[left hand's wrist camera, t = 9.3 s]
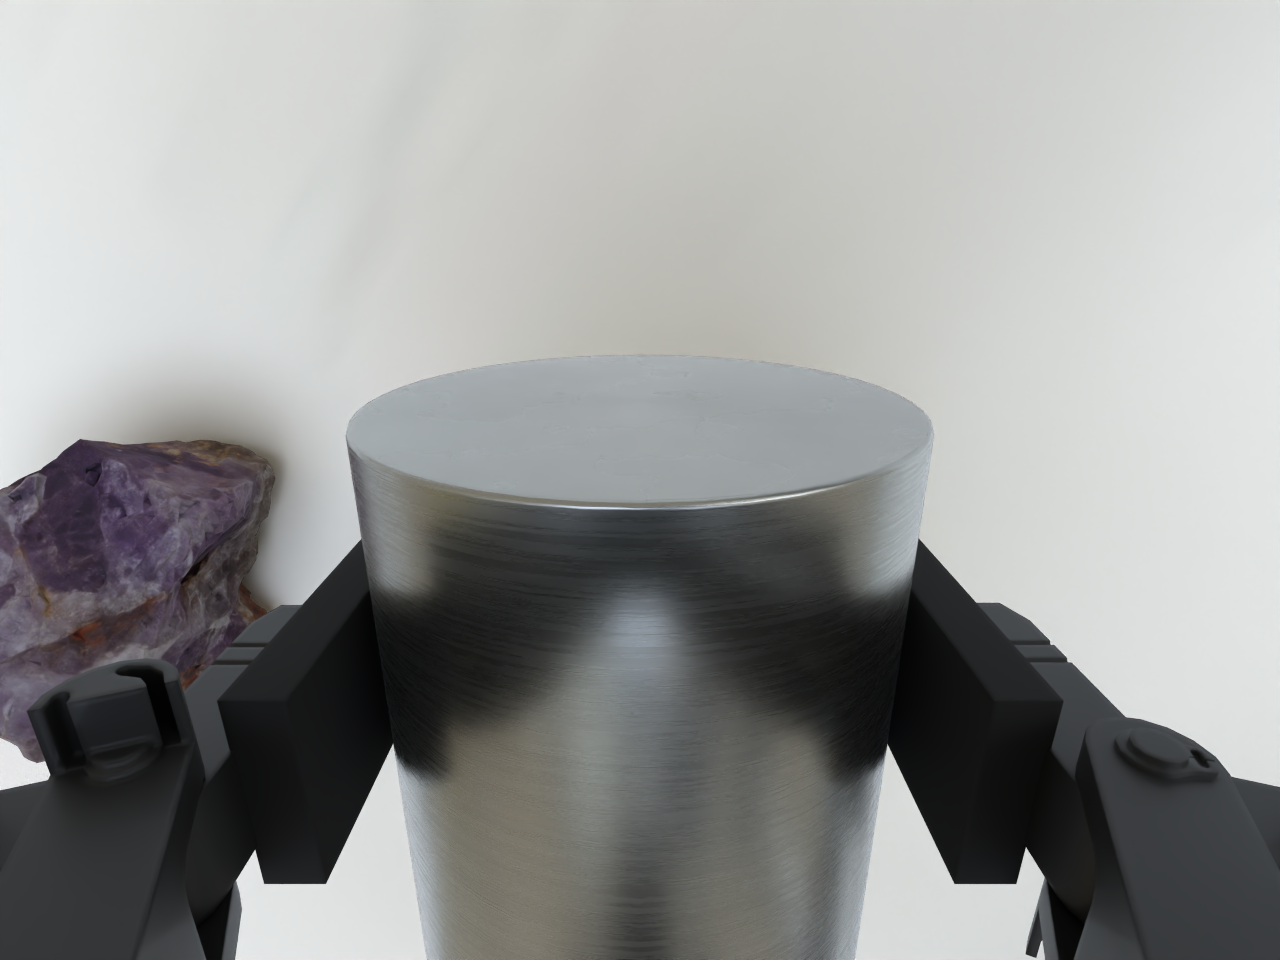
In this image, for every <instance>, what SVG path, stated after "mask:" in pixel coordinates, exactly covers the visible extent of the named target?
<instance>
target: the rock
mask: <svg viewBox="0 0 1280 960" xmlns="http://www.w3.org/2000/svg"><path fill="white" fill-rule="evenodd" d="M274 481H275V476H274V473H273V470H272V468H271V467H270V465H269V464H268V462H267V460H266V459H263V458H261V457H259V456H257V455H256V454H254V453H253V452H252V451H250V450H248V449H246V448H243V447H241V446H237V445H230V444H223V443H220V442H217V441H209V440H198V441H192V442H181V441H170V442H159V443H144V444H130V445H121V444H115V443H109V442H101V441H89V440H82V439H80V440H78V441H77V442H75V443H74V444H73V445H71V446H70V447H69V448H67V449H66V450H64V451H63V452H62V453H61V454H60V455H59V456H58V458H57V459H55V460H53V461H52V462H50V463H49V464H47V465H46V466H44V467H43V468H42V469H41V470H39V471H37V472H34V473H32V474H29V475H27V476H25V477H23V478H21V479H19V480H17V481H16V482H14V483H13V484H11V485H10V486H8V487H6V488H3V489H1V490H0V738H2V739H4V740H7V741H9V742H11V743H13V744H14V745H16V746H18V747H19V749H20V751H21V753H22V754H23V756H24V757H25V758H27V759H28V760H31V761H33V762H36V763H39V762H43V761H45V759H44V756H43V753H42V751H41V748H40V745H39V743H38V740H37V738H36V735H35V732H34V730H33V727H32V724H31V722H30V719H29V716H28V714H27V710H28V709H29V708H30V707H31V706H32V705H33V704H34V703H35V702H36V701H37V700H38V699H39V698H40V697H41V696H42V695H43V694H45V693H46V692H48V691H49V690H51V689H53V688H54V687H56V686H57V685H59V684H60V683H62V682H64V681H65V680H67V679H70V678H72V677H74V676H77V675H79V674H81V673H84V672H86V671H88V670H91V669H93V668H97V667H100V666H104V665H108V664H112V663H115V662H119V661H124V660H134V659H143V658H149V659H157V660H164V661H167V662H169V663H170V664H171V665H173V666H174V667H176V668H177V670H178V674H179V678H180V681H181V685H182V688H183V692H184V691H185V690H186V689H187V688H188V687H189V686H190V685H191V684H192V683H193V682H194V681H195V680H196V679H197V678H198V677H199V676H200V675H201V673H202V672H203V671H204V670H205V669H206V668H207V667H208V666H209V665H214V660H215V659H216V658H217V657H218V656H219V655H220V654H221V653H222V652H223V651H224V650H225V649H226V648H227V647H231V643H232V642H233V641H234V640H235V639H236V638H237V637H238V636H239V635H240V634H241V633H242V632H243V631H244V630H245V629H246V628H247V627H248V626H249V625H250V624H251V623H252V622H254V621H255V620H257V619H259V618H260V617H262V616H264V615H266V614H267V612H266V611H265V610H264V609H263V608H261V607H259V606H258V605H256V604H255V603H254V602H253V601H252V600H250V594H251V593H250V592H249V591H248V590H247V589H246V588H245V587H244V586H243V585H242V584H241V581H242V579H243V578H244V576H245V575H246V574H247V573H248V572H249V571H250V569H251V567H252V566H253V564H254V562H255V560H256V555H257V553H258V542H257V540H256V538H255V535H256V534H257V531H258V529H259V526H260V524H261V521H262V520H263V519H265V518H266V517H267V516H268V513H269V508H270V492H271V490H272V487H273V484H274Z"/></svg>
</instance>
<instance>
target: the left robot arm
mask: <svg viewBox="0 0 1280 960" xmlns="http://www.w3.org/2000/svg"><path fill="white" fill-rule="evenodd" d="M27 714H28V716H29V719H30V722H31V724H32V727H33V730H34V732H35V735H36V738H37V740H38V743H39V745H40V748H41V751H42V753H43V756H44V759H45V761H46V764H47V767H48V769H49V772H50V777H49V779H48V780H47V781H42V782H38V783H33V784H28V785H24V786H19V787H14V788H10V789H5V790H0V960H235V955H236V948H237V941H238V933H239V926H240V919H241V911H242V907H241V900H240V893H239V890H238V886H237V882H236V879H237V878H238V876H239V875H240V873H241V871H242V870H243V868H244V866H245V865H246V863H247V862H248V860H249V858H250V857H251V855H252V854H253V852H254V850H256V854H257V858H258V861H259V865H260V869H261V873H262V877H263V881H264V884H326V883H327V880H328V878H329V876H330V874H331V872H332V870H333V868H334V866H335V864H336V862H337V860H338V857H339V855H340V853H341V851H342V849H343V847H344V845H345V843H346V841H347V839H348V837H349V834H350V832H351V830H352V828H353V826H354V824H355V822H356V820H357V818H358V816H359V814H360V811H361V809H362V807H363V805H364V803H365V801H366V799H367V797H368V795H369V793H370V791H371V788H372V786H373V784H374V782H375V780H376V778H377V776H378V774H379V772H380V770H381V768H382V765H383V763H384V761H385V759H386V757H387V755H388V753H389V751H390V749H391V747H392V745H393V737H392V731H391V724H390V718H389V712H388V705H387V699H386V692H385V686H384V679H383V673H382V666H381V660H380V653H379V647H378V641H377V634H376V628H375V621H374V615H373V608H372V602H371V595H370V589H369V583H368V576H367V570H366V563H365V557H364V550H363V544H362V539H361V540H360V541H359V542H358V543H357V544H356V546H355V547H354V548H353V549H352V550H351V551H350V552H349V553H348V555H347V556H346V557H345V558H344V559H343V560H342V561H341V562H340V563H339V565H338V566H337V567H336V568H335V569H334V570H333V571H332V572H331V574H330V575H329V576H328V577H327V578H326V579H325V580H324V581H323V582H322V584H321V585H320V586H319V587H318V588H317V589H316V590H315V591H314V593H313V594H312V595H311V596H310V597H309V598H308V599H307V600H306V601H305V603H304V604H303V605H281V606H279V607H278V608H276V609H274V610H272V611H271V612H269V613H267V614H266V615H264V616H262V617H260V618H259V619H257V620H255V621H254V622H252V623H251V624H250V625H249V626H248V627H247V628H246V629H245V630H244V631H243V632H242V633H241V634H240V635H239V636H238V637H237V638H236V639H235V640H234V641H233V642H232V643H231V647H227V648H226V649H225V650H224V651H223V652H222V653H221V654H220V655H219V656H218V657H217V658H216V659H215V660H214V665H209V666H208V667H207V668H206V669H205V670H204V671H203V672H202V673H201V675H200V676H199V677H198V678H197V679H196V680H195V681H194V682H193V683H192V684H191V685H190V686H189V687H188V688H187V689H186V690H185V691H184V692H183V688H182V685H181V681H180V678H179V674H178V670H177V668H176V667H174V666H173V665H171V664H170V663H169V662H167V661H164V660H157V659H149V658H143V659H134V660H124V661H119V662H115V663H112V664H108V665H104V666H100V667H97V668H93V669H91V670H88V671H86V672H84V673H81V674H79V675H77V676H74V677H72V678H70V679H67V680H65V681H64V682H62V683H60V684H59V685H57V686H56V687H54V688H53V689H51V690H49V691H48V692H46V693H45V694H43V695H42V696H41V697H40V698H39V699H38V700H37V701H36V702H35V703H34V704H33V705H32V706H31V707H30V708H29V709H28V710H27ZM887 744H888V746H889V748H890V750H891V752H892V754H893V756H894V758H895V760H896V762H897V764H898V767H899V769H900V771H901V773H902V775H903V777H904V779H905V781H906V783H907V785H908V787H909V790H910V792H911V794H912V796H913V798H914V800H915V802H916V804H917V806H918V808H919V810H920V813H921V815H922V817H923V819H924V821H925V823H926V825H927V827H928V829H929V831H930V833H931V836H932V838H933V840H934V842H935V844H936V846H937V848H938V850H939V852H940V854H941V856H942V859H943V861H944V863H945V865H946V867H947V869H948V871H949V873H950V875H951V877H952V879H953V882H954V884H1016V883H1017V879H1018V875H1019V871H1020V868H1021V864H1022V860H1023V856H1024V852H1025V848H1026V847H1027V849H1028V851H1029V852H1030V854H1031V855H1032V857H1033V859H1034V860H1035V862H1036V864H1037V865H1038V867H1039V868H1040V870H1041V872H1042V873H1043V875H1044V876H1045V879H1044V882H1043V886H1042V890H1041V893H1040V897H1039V900H1038V904H1037V908H1036V911H1035V915H1034V918H1033V922H1032V926H1031V929H1030V933H1029V936H1028V941H1027V948H1026V955H1029V956H1032V957H1035V958H1036V957H1037V953H1038V950H1039V946H1040V943H1041V941H1042V940H1043V946H1044V953H1045V960H1280V787H1276V786H1272V785H1267V784H1262V783H1258V782H1253V781H1248V780H1243V779H1239V778H1234V777H1231V776H1230V774H1229V773H1228V772H1227V770H1226V769H1225V768H1224V767H1223V765H1222V764H1221V763H1220V762H1219V760H1218V759H1217V758H1216V757H1215V756H1214V755H1212V754H1211V753H1210V752H1208V751H1207V750H1206V749H1204V748H1203V747H1202V746H1200V745H1199V744H1198V743H1196V742H1195V741H1193V740H1191V739H1189V738H1187V737H1185V736H1183V735H1181V734H1179V733H1177V732H1175V731H1173V730H1171V729H1169V728H1167V727H1164V726H1161V725H1157V724H1154V723H1151V722H1148V721H1144V720H1141V719H1134V718H1126V717H1125V716H1124V715H1123V714H1122V713H1121V712H1120V711H1119V710H1118V709H1117V708H1116V707H1115V706H1114V705H1113V704H1112V703H1111V702H1110V701H1109V700H1108V699H1107V698H1106V697H1105V696H1104V695H1103V694H1102V693H1101V692H1100V691H1099V690H1098V689H1097V688H1096V687H1095V686H1094V685H1093V684H1092V683H1091V682H1090V681H1089V680H1088V679H1087V678H1086V677H1085V676H1084V675H1083V674H1082V673H1081V672H1080V671H1079V670H1078V669H1077V668H1076V667H1075V666H1074V665H1073V664H1072V663H1068V662H1067V658H1066V657H1065V656H1064V655H1063V654H1062V653H1061V652H1060V651H1059V650H1058V648H1057V647H1056V646H1055V645H1050V640H1049V639H1048V638H1047V637H1046V636H1045V635H1044V634H1043V633H1042V632H1041V631H1040V630H1039V629H1038V628H1037V627H1036V626H1035V625H1034V624H1033V623H1032V622H1031V621H1030V620H1028V619H1026V618H1025V617H1023V616H1021V615H1019V614H1018V613H1016V612H1014V611H1012V610H1011V609H1009V608H1007V607H1006V606H1004V605H1002V604H1000V603H976V602H975V601H974V600H973V599H972V598H971V596H970V595H969V594H968V593H967V592H966V591H965V590H964V589H963V587H962V586H961V585H960V584H959V583H958V582H957V581H956V580H955V579H954V577H953V576H952V575H951V574H950V573H949V572H948V571H947V570H946V568H945V567H944V566H943V565H942V564H941V563H940V562H939V561H938V560H937V558H936V557H935V556H934V555H933V554H932V553H931V552H930V551H929V549H928V548H927V547H926V546H925V545H924V544H923V543H922V542H921V541H920V539H919V538H918V544H917V551H916V558H915V564H914V571H913V577H912V584H911V591H910V597H909V604H908V610H907V617H906V624H905V630H904V637H903V643H902V650H901V657H900V663H899V670H898V676H897V683H896V690H895V696H894V703H893V709H892V716H891V723H890V729H889V736H888V742H887Z"/></svg>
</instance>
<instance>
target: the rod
mask: <svg viewBox="0 0 1280 960" xmlns="http://www.w3.org/2000/svg"><path fill="white" fill-rule="evenodd" d="M933 439H934V432H933V428H932V424H931V420H930V419H929V418H928V416H927V415H926V414H925V412H924V411H923V410H922V409H920V408H919V407H918V406H916V405H915V404H914V403H913V402H911V401H909V400H907V399H905V398H904V397H902V396H900V395H898V394H896V393H894V392H891V391H889V390H886V389H884V388H881V387H879V386H876V385H873V384H870V383H867V382H864V381H861V380H857V379H854V378H850V377H846V376H842V375H838V374H834V373H829V372H824V371H819V370H815V369H809V368H803V367H797V366H791V365H784V364H777V363H769V362H761V361H751V360H742V359H730V358H717V357H699V356H674V355H609V356H584V357H567V358H554V359H542V360H532V361H523V362H514V363H506V364H499V365H492V366H486V367H480V368H474V369H468V370H463V371H459V372H454V373H449V374H444V375H440V376H437V377H433V378H429V379H425V380H422V381H418V382H415V383H412V384H409V385H406V386H403V387H401V388H398V389H396V390H393V391H391V392H388V393H386V394H384V395H382V396H380V397H378V398H376V399H374V400H372V401H370V402H369V403H367V404H366V405H365V406H363V407H362V408H361V409H359V410H358V411H357V412H356V413H355V414H354V416H353V417H352V418H351V420H350V421H349V424H348V428H347V432H346V441H347V447H348V454H349V460H350V466H351V473H352V479H353V486H354V492H355V499H356V505H357V512H358V518H359V524H360V531H361V537H362V544H363V550H364V557H365V563H366V570H367V576H368V583H369V589H370V595H371V602H372V608H373V615H374V621H375V628H376V634H377V641H378V647H379V653H380V660H381V666H382V673H383V679H384V686H385V692H386V699H387V705H388V712H389V718H390V724H391V731H392V737H393V744H394V750H395V757H396V763H397V770H398V776H399V782H400V789H401V795H402V802H403V808H404V815H405V821H406V828H407V834H408V841H409V847H410V853H411V860H412V866H413V873H414V879H415V886H416V892H417V899H418V905H419V911H420V918H421V924H422V931H423V937H424V944H425V950H426V957H427V960H855V954H856V947H857V941H858V934H859V927H860V921H861V914H862V908H863V901H864V894H865V888H866V881H867V875H868V868H869V861H870V855H871V848H872V842H873V835H874V828H875V822H876V815H877V809H878V802H879V795H880V789H881V782H882V776H883V769H884V762H885V756H886V749H887V742H888V736H889V729H890V723H891V716H892V709H893V703H894V696H895V690H896V683H897V676H898V670H899V663H900V657H901V650H902V643H903V637H904V630H905V624H906V617H907V610H908V604H909V597H910V591H911V584H912V577H913V571H914V564H915V558H916V551H917V544H918V538H919V531H920V524H921V518H922V511H923V505H924V498H925V491H926V485H927V478H928V472H929V465H930V458H931V452H932V445H933Z"/></svg>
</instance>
